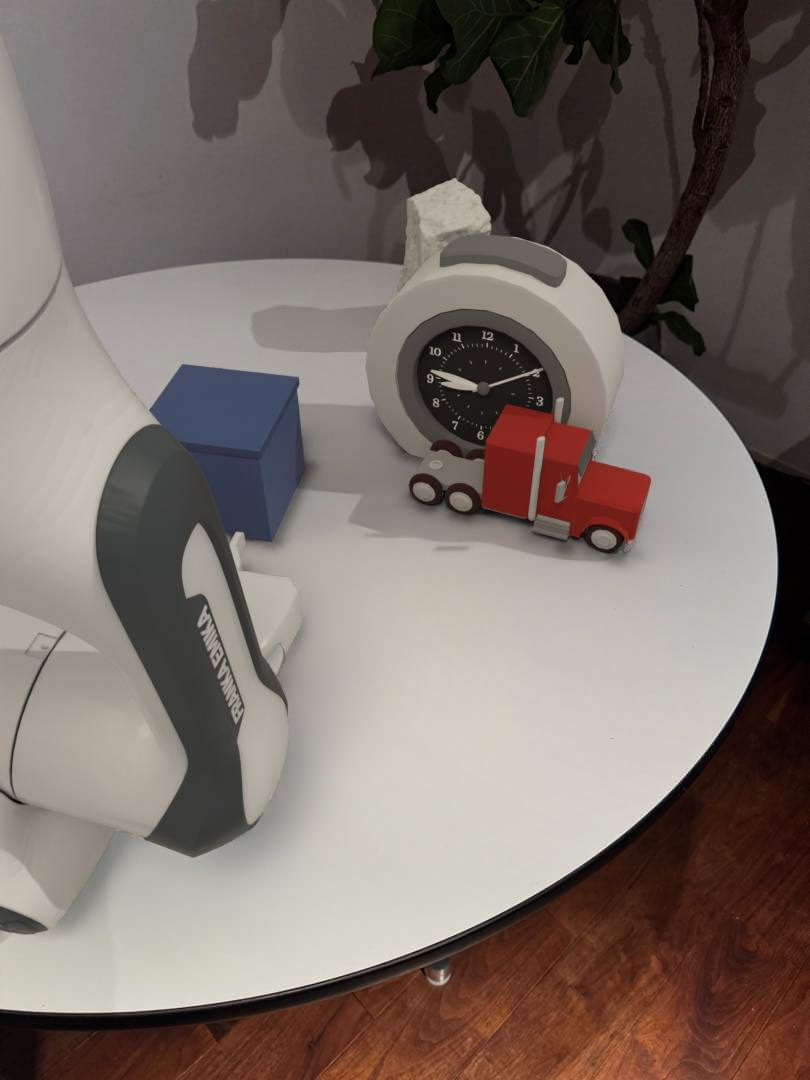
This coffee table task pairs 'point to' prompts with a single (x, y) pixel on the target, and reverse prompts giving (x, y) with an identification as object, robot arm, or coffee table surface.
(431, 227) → the decorative stone
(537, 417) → the toy truck
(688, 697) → the coffee table surface
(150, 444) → the robot arm
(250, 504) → the blue box
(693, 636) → the coffee table surface
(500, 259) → the alarm clock
